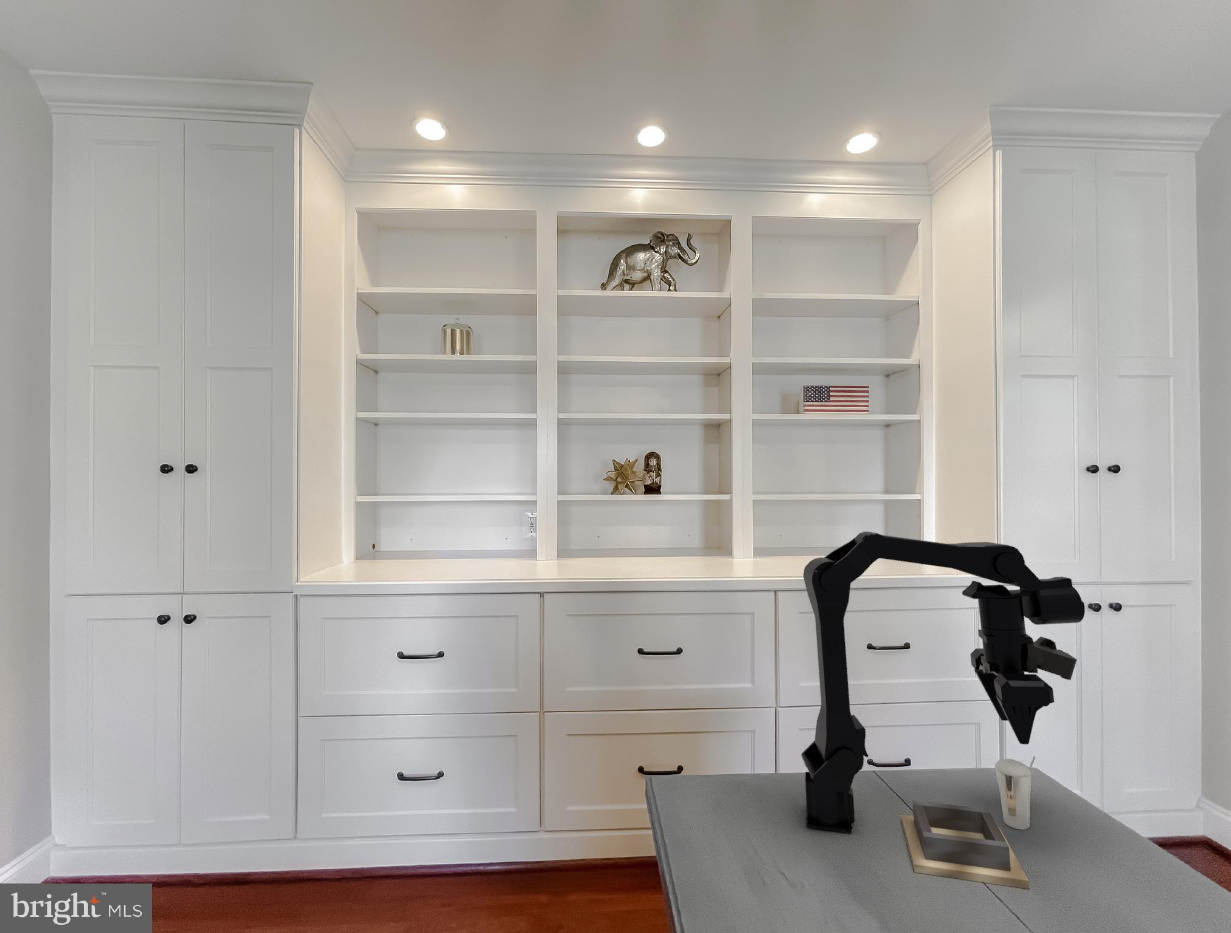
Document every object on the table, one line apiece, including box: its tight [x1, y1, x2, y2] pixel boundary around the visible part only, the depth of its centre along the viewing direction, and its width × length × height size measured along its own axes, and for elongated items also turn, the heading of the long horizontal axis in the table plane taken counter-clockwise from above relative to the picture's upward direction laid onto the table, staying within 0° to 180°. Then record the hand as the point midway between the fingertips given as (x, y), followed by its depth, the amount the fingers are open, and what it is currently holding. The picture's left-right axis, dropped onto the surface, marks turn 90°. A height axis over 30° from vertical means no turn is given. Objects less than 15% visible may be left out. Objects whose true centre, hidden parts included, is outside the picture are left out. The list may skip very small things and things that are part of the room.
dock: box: [900, 800, 1030, 890], centre depth 84 cm, size 13×13×4 cm
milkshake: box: [994, 755, 1036, 831], centre depth 90 cm, size 4×5×10 cm
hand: (1014, 731), depth 91 cm, fingers open, 9 cm apart
